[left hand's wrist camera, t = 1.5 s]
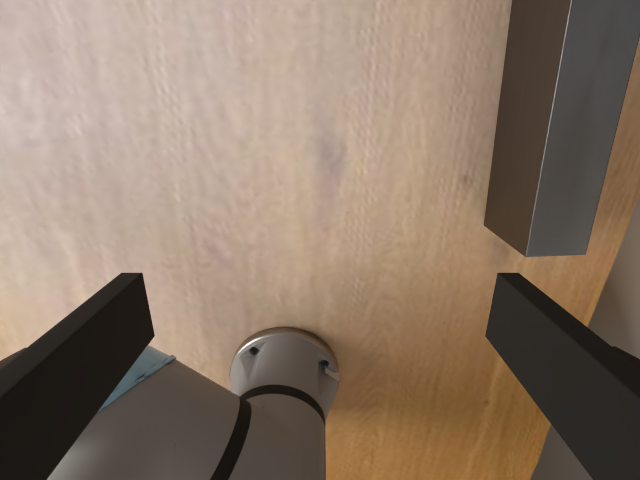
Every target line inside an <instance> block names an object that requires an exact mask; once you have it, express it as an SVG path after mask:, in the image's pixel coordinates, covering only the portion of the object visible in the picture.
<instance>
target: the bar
mask: <svg viewBox="0 0 640 480" xmlns="http://www.w3.org/2000/svg"><path fill="white" fill-rule="evenodd" d="M639 37H640V0H512V7H511V15H510V23H509V31H508V39H507V47H506V55H505V63H504V71H503V79H502V86H501V94H500V102H499V110H498V118H497V126H496V134H495V142H494V150H493V158H492V166H491V174H490V182H489V190H488V198H487V205H486V213H485V221H484V226H485V227H487V228H488V229H489V230H491V231H492V232H493V233H495V234H496V235H497V236H499V237H500V238H501V239H503V240H504V241H505V242H506V243H508V244H509V245H510V246H512V247H513V248H514V249H516V250H517V251H518V252H520V253H521V254H522V255H524V256H525V257H540V256H564V255H585V254H586V251H587V247H588V242H589V238H590V234H591V230H592V226H593V222H594V218H595V214H596V210H597V206H598V202H599V198H600V194H601V190H602V186H603V182H604V178H605V174H606V170H607V166H608V162H609V158H610V154H611V150H612V146H613V142H614V137H615V133H616V129H617V125H618V121H619V117H620V113H621V109H622V105H623V101H624V97H625V93H626V89H627V85H628V81H629V77H630V73H631V69H632V65H633V61H634V57H635V53H636V49H637V45H638V41H639Z"/></svg>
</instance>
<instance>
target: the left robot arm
mask: <svg viewBox="0 0 640 480" xmlns="http://www.w3.org/2000/svg"><path fill="white" fill-rule="evenodd" d="M154 336H155V335H154V330H153V325H152V320H151V315H150V310H149V305H148V300H147V294H146V289H145V284H144V279H143V274H142V273H121V274H120V275H118V276H117V277H116V278H114V279H113V280H112V281H111V282H109V283H108V284H107V285H106V286H104V287H103V288H102V289H101V290H99V291H98V292H97V293H96V294H94V295H93V296H92V297H91V298H89V299H88V300H87V301H86V302H84V303H83V304H82V305H80V306H79V307H78V308H77V309H75V310H74V311H73V312H72V313H70V314H69V315H68V316H67V317H65V318H64V319H63V320H62V321H60V322H59V323H58V324H57V325H55V326H54V327H53V328H51V329H50V330H49V331H48V332H46V333H45V334H44V335H43V336H41V337H40V338H39V339H38V340H36V341H35V342H34V343H33V344H31V345H30V346H29V347H28V348H24V349H22V350H20V351H18V352H16V353H14V354H12V355H10V356H9V357H7V358H5V359H3V360H1V361H0V480H326V453H325V420H326V417H327V415H328V412H329V410H330V407H331V405H332V402H333V400H334V397H335V394H336V392H337V388H338V382H340V374H339V373H338V365H337V361H336V358H335V356H334V354H333V352H332V351H331V349H330V348H329V347H328V346H327V345H326V344H325V343H324V342H323V341H322V340H321V339H319V338H318V337H316V336H315V335H313V334H311V333H308V332H306V331H303V330H300V329H295V328H288V327H277V328H270V329H266V330H263V331H260V332H258V333H256V334H254V335H252V336H250V337H249V338H248V339H246V340H245V341H244V342H243V343H242V344H241V345H240V347H239V348H238V350H237V352H236V354H235V356H234V359H233V362H232V364H231V368H230V390H231V391H229V390H227V389H225V388H224V387H222V386H220V385H218V384H217V383H215V382H213V381H212V380H210V379H208V378H206V377H205V376H203V375H201V374H200V373H198V372H196V371H194V370H193V369H191V368H189V367H188V366H186V365H184V364H182V363H181V362H179V361H177V360H176V357H175V356H173V355H171V356H168V355H166V354H164V353H162V352H160V351H158V350H156V349H154V348H152V347H150V346H149V345H148V344H149V343H150V341H151V340H152V339H153V337H154ZM485 336H486V337H487V339H488V340H489V341H490V343H491V344H492V345H493V347H494V348H495V349H496V351H497V352H498V353H499V355H500V356H501V357H502V359H503V360H504V361H505V363H506V364H507V365H508V367H509V368H510V369H511V371H512V372H513V373H514V375H515V376H516V377H517V379H518V380H519V381H520V383H521V384H522V385H523V387H524V388H525V389H526V391H527V392H528V393H529V395H530V396H531V397H532V399H533V400H534V401H535V403H536V404H537V405H538V407H539V408H540V409H541V411H542V412H543V413H544V415H545V416H546V417H547V419H548V420H549V421H550V423H551V424H552V425H553V427H554V428H555V429H556V431H557V432H558V433H559V435H560V436H561V437H562V439H563V440H564V441H565V443H566V444H567V445H568V447H569V448H570V449H571V451H572V452H573V453H574V455H575V456H576V457H577V459H578V460H579V461H580V463H581V464H582V465H583V467H584V468H585V469H586V471H587V472H588V473H589V475H590V476H591V477H592V479H593V480H640V359H638V358H636V357H634V356H632V355H630V354H629V353H627V352H625V351H623V350H621V349H619V348H617V347H611V346H610V345H609V344H607V343H606V342H605V341H604V340H602V339H601V338H600V337H599V336H597V335H596V334H595V333H594V332H592V331H591V330H590V329H589V328H587V327H586V326H585V325H583V324H582V323H581V322H580V321H578V320H577V319H576V318H575V317H573V316H572V315H571V314H570V313H568V312H567V311H566V310H565V309H563V308H562V307H561V306H560V305H558V304H557V303H556V302H554V301H553V300H552V299H551V298H549V297H548V296H547V295H546V294H544V293H543V292H542V291H541V290H539V289H538V288H537V287H536V286H534V285H533V284H532V283H531V282H529V281H528V280H527V279H525V278H524V277H523V276H522V275H520V274H519V273H498V274H497V279H496V284H495V289H494V294H493V300H492V305H491V310H490V315H489V320H488V325H487V330H486V335H485Z"/></svg>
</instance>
